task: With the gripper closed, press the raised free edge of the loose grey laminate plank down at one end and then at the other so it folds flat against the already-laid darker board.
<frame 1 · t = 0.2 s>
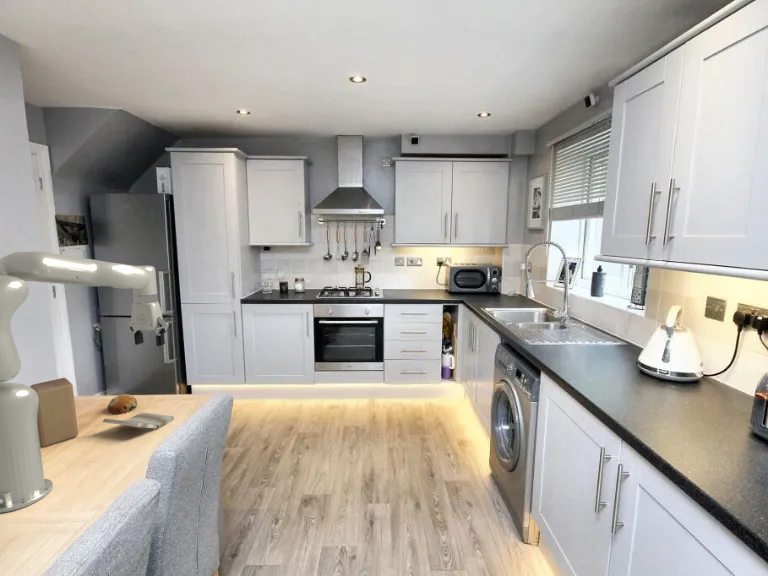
hand: (150, 344, 142), 30 cm above the table, tool pointing down, fingers open, 9 cm apart
laid board: (150, 422, 145), on the table
bread roll: (123, 410, 156), on the table
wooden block: (57, 438, 134), on the table
loose plank: (130, 423, 137), point 3 cm above the table, hinge at 30.0°
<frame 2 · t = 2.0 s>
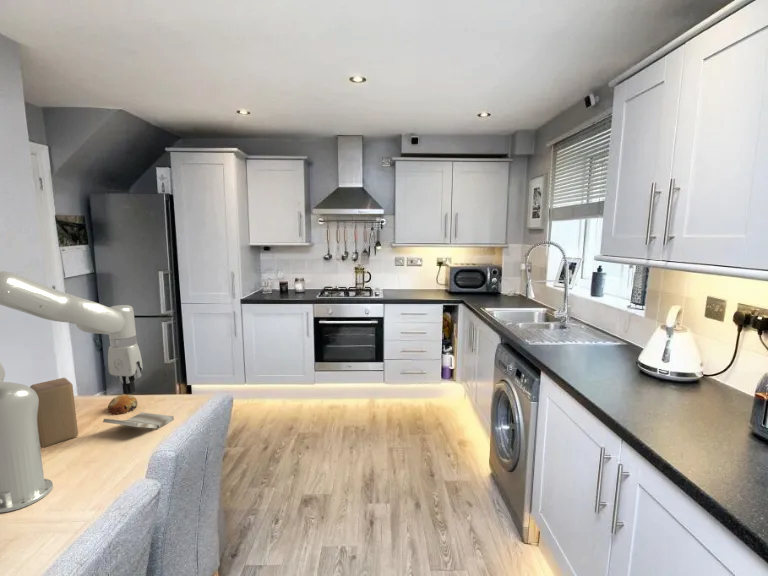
hand: (129, 392, 131), 16 cm above the table, tool pointing down, fingers closed
nothing on the table moved.
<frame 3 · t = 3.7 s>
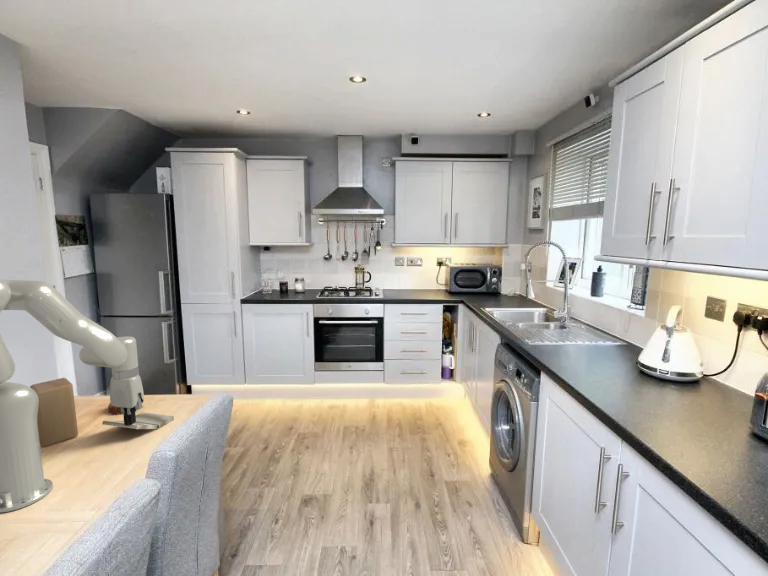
hand: (130, 423, 132), 6 cm above the table, tool pointing down, fingers closed
loose plank: (130, 424, 137), point 3 cm above the table, hinge at 25.9°, touching gripper
everything else where it was.
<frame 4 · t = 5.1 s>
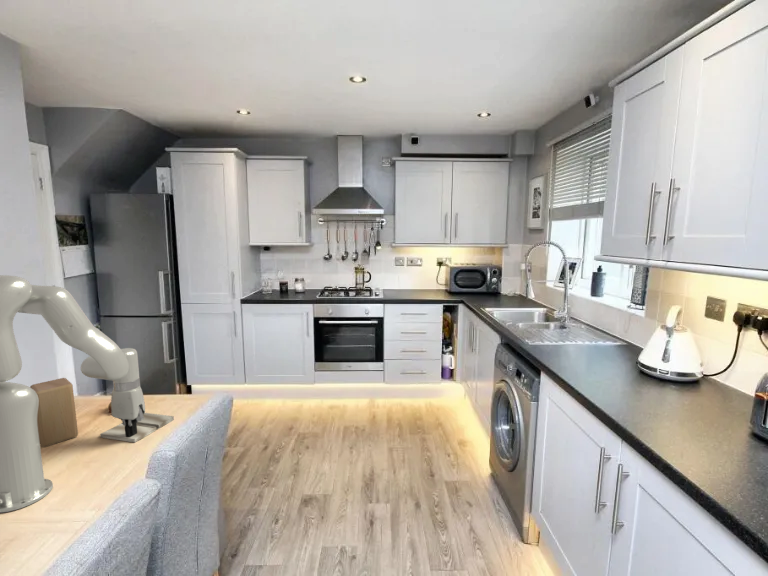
hand: (131, 435, 133), 1 cm above the table, tool pointing down, fingers closed
loose plank: (128, 431, 136), point 1 cm above the table, hinge at 0.9°, touching gripper
everything else where it was.
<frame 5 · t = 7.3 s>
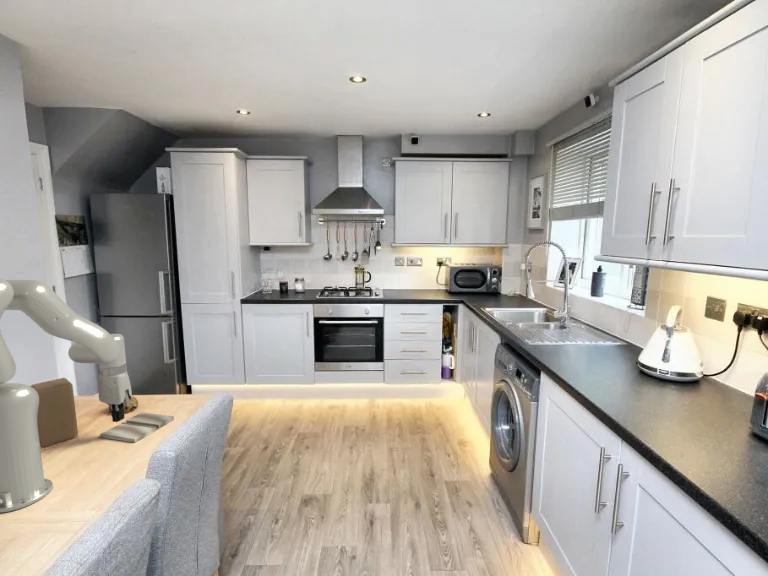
hand: (118, 420, 134), 6 cm above the table, tool pointing down, fingers closed
loose plank: (128, 431, 136), point 1 cm above the table, hinge at 0.9°
everything else where it was.
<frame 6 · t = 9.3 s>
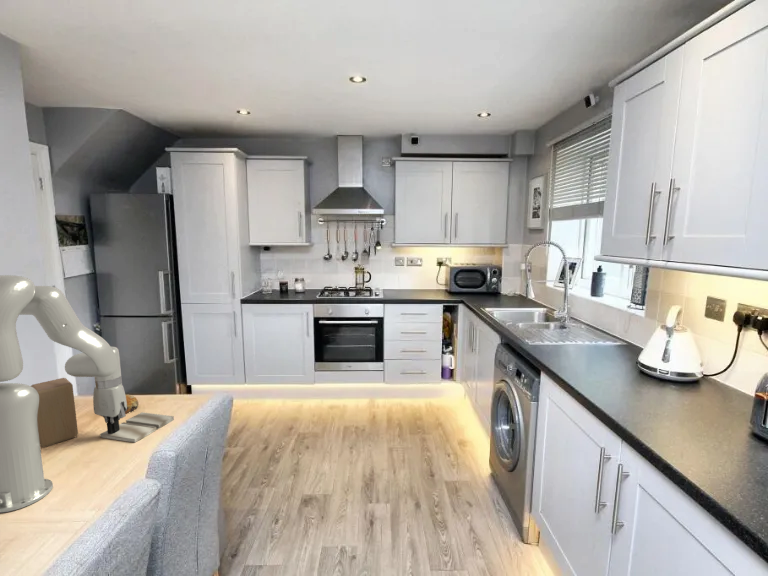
hand: (113, 431, 135), 1 cm above the table, tool pointing down, fingers closed
nothing on the table moved.
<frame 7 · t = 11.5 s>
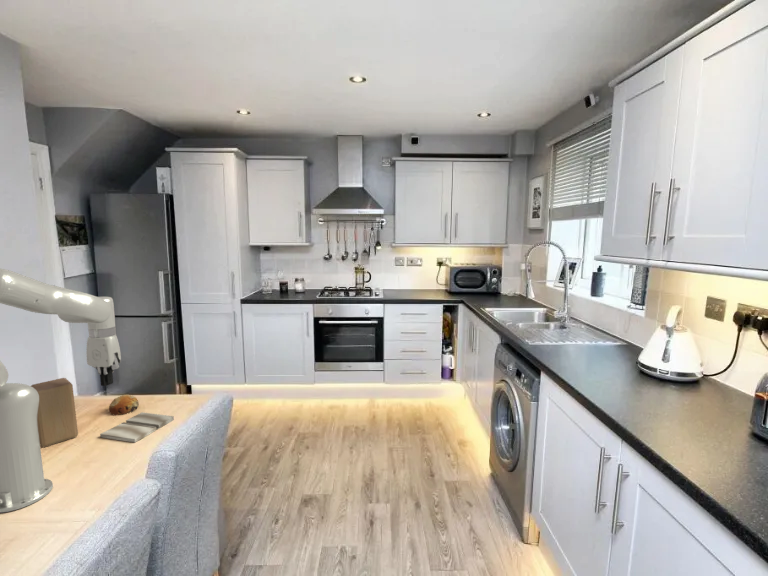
hand: (107, 384, 132), 19 cm above the table, tool pointing down, fingers closed
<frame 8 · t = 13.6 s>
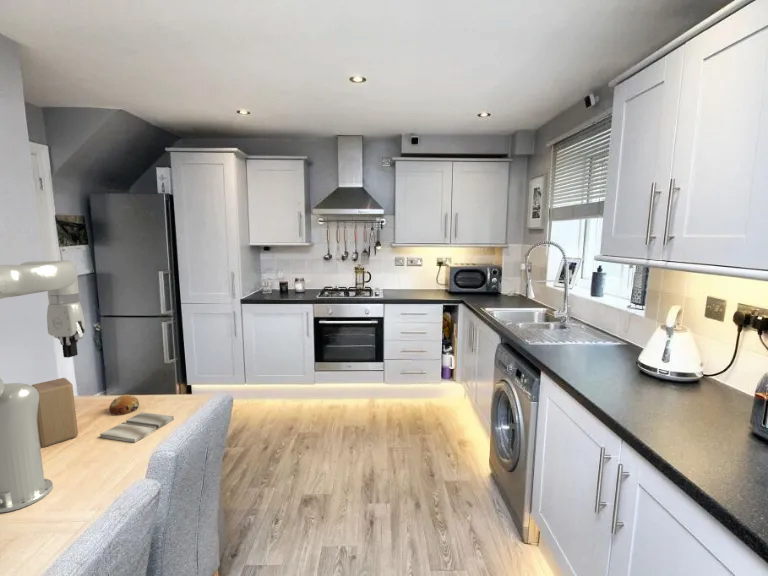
hand: (70, 356, 122), 32 cm above the table, tool pointing down, fingers closed
at the end: loose plank at +1° (first picture: +30°); the gripper is holding nothing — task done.
